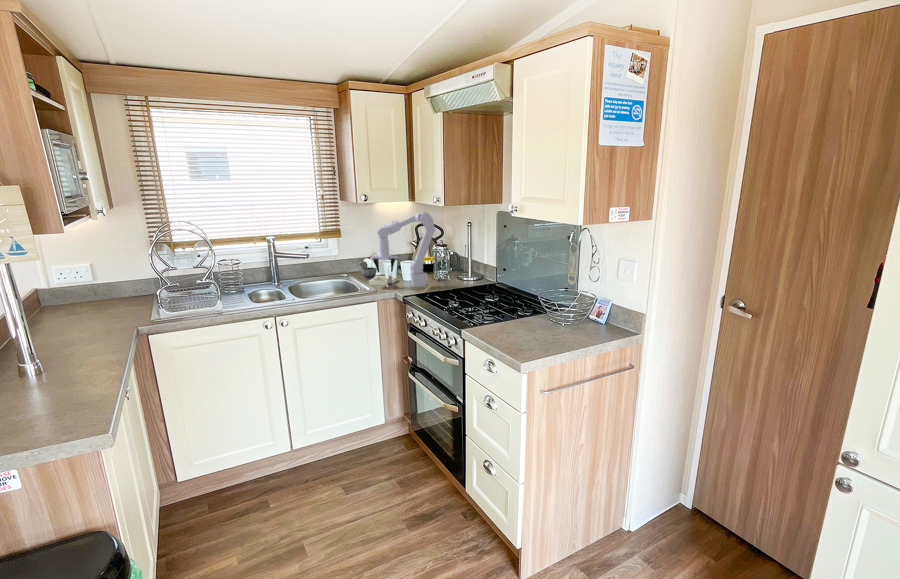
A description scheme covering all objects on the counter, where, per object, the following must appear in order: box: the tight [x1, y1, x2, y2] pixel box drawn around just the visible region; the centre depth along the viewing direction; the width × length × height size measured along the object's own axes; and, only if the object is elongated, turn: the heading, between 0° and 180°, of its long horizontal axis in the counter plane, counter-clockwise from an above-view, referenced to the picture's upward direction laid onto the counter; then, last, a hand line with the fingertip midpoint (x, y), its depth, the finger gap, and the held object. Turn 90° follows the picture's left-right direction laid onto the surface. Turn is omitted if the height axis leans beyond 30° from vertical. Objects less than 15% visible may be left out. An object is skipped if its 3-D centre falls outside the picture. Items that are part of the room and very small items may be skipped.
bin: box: [368, 275, 398, 286], centre depth 268 cm, size 13×13×4 cm
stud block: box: [381, 284, 398, 291], centre depth 253 cm, size 10×10×2 cm
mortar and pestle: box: [358, 260, 378, 281], centre depth 282 cm, size 11×9×12 cm
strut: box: [386, 275, 394, 288], centre depth 252 cm, size 4×4×7 cm
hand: (385, 271), depth 253 cm, fingers open, 7 cm apart
